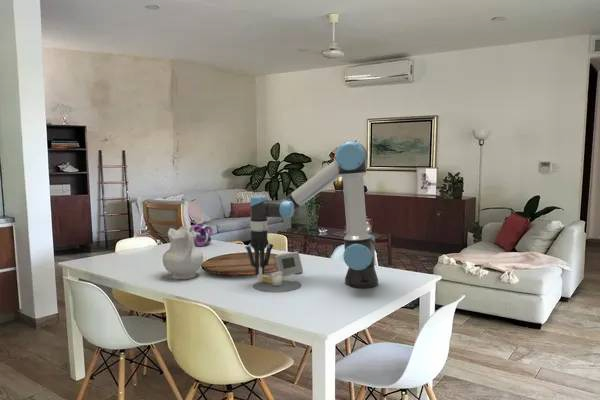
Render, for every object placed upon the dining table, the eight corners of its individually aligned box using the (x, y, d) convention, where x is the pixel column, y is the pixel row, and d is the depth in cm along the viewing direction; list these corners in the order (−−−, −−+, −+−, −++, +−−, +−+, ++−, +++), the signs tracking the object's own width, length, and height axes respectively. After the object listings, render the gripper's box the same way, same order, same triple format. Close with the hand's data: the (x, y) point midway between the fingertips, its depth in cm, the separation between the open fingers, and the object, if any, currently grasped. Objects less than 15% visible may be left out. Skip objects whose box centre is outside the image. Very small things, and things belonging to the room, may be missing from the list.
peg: (284, 284, 208) (284, 272, 208) (276, 286, 204) (276, 274, 204) (263, 279, 217) (263, 267, 216) (255, 281, 213) (255, 269, 212)
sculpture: (184, 248, 311) (189, 242, 293) (188, 224, 316) (193, 217, 299) (207, 251, 316) (213, 245, 298) (210, 227, 322) (216, 221, 304)
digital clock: (278, 278, 222) (278, 257, 221) (269, 275, 230) (269, 253, 229) (306, 274, 231) (306, 253, 230) (297, 270, 238) (297, 250, 238)
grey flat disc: (311, 286, 209) (311, 284, 209) (278, 297, 192) (278, 295, 192) (276, 278, 223) (276, 276, 223) (242, 287, 207) (242, 285, 207)
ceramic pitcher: (213, 279, 225) (215, 228, 225) (178, 284, 211) (180, 230, 210) (188, 272, 240) (190, 224, 239) (154, 276, 226) (156, 225, 225)
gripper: (269, 227, 214) (270, 277, 216) (242, 229, 209) (243, 281, 211) (275, 230, 207) (276, 281, 209) (247, 232, 202) (248, 285, 204)
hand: (259, 281), depth 210 cm, fingers closed
